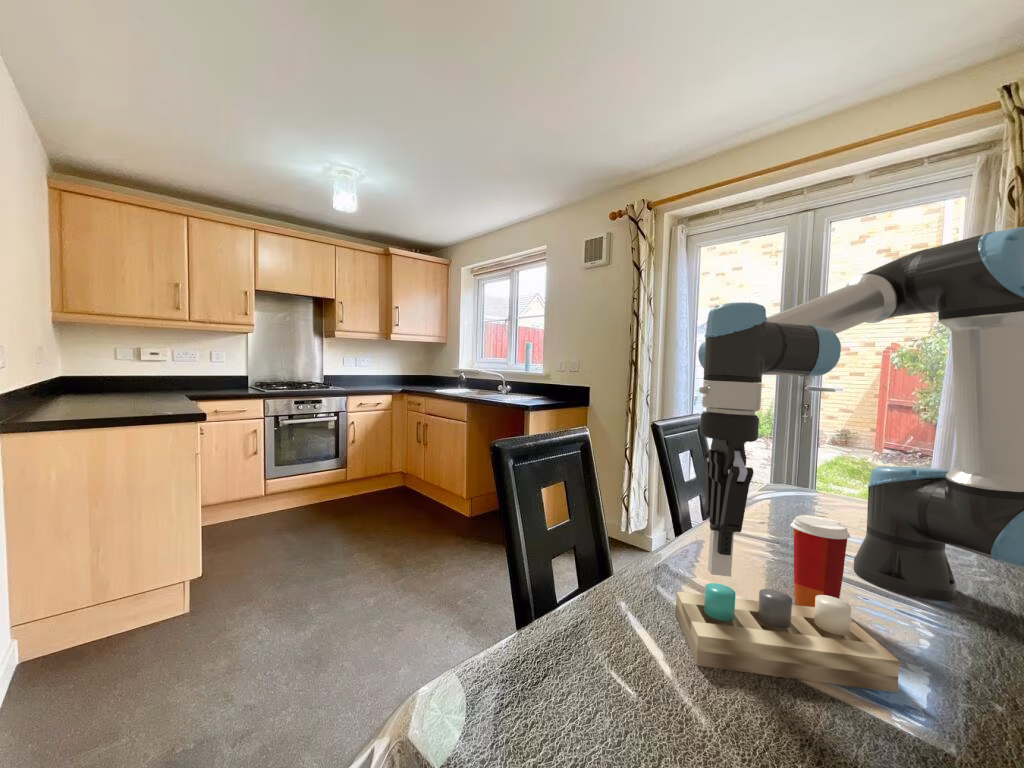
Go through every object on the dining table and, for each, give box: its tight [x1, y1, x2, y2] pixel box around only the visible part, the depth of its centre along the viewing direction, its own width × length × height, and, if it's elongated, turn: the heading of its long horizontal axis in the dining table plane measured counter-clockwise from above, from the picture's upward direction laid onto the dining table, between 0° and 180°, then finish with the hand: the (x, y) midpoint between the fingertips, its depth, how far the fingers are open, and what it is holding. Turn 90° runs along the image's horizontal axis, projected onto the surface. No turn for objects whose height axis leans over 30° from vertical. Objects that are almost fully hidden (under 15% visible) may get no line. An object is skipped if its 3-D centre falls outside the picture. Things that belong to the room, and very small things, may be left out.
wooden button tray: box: [675, 591, 900, 694], centre depth 61 cm, size 24×12×4 cm, turn 82°
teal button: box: [704, 582, 736, 621], centre depth 62 cm, size 4×4×4 cm
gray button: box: [758, 588, 793, 628], centre depth 61 cm, size 4×4×4 cm
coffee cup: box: [790, 514, 851, 607], centre depth 73 cm, size 8×8×15 cm
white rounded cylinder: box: [814, 595, 852, 635], centre depth 60 cm, size 4×4×4 cm
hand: (719, 573), depth 62 cm, fingers closed
